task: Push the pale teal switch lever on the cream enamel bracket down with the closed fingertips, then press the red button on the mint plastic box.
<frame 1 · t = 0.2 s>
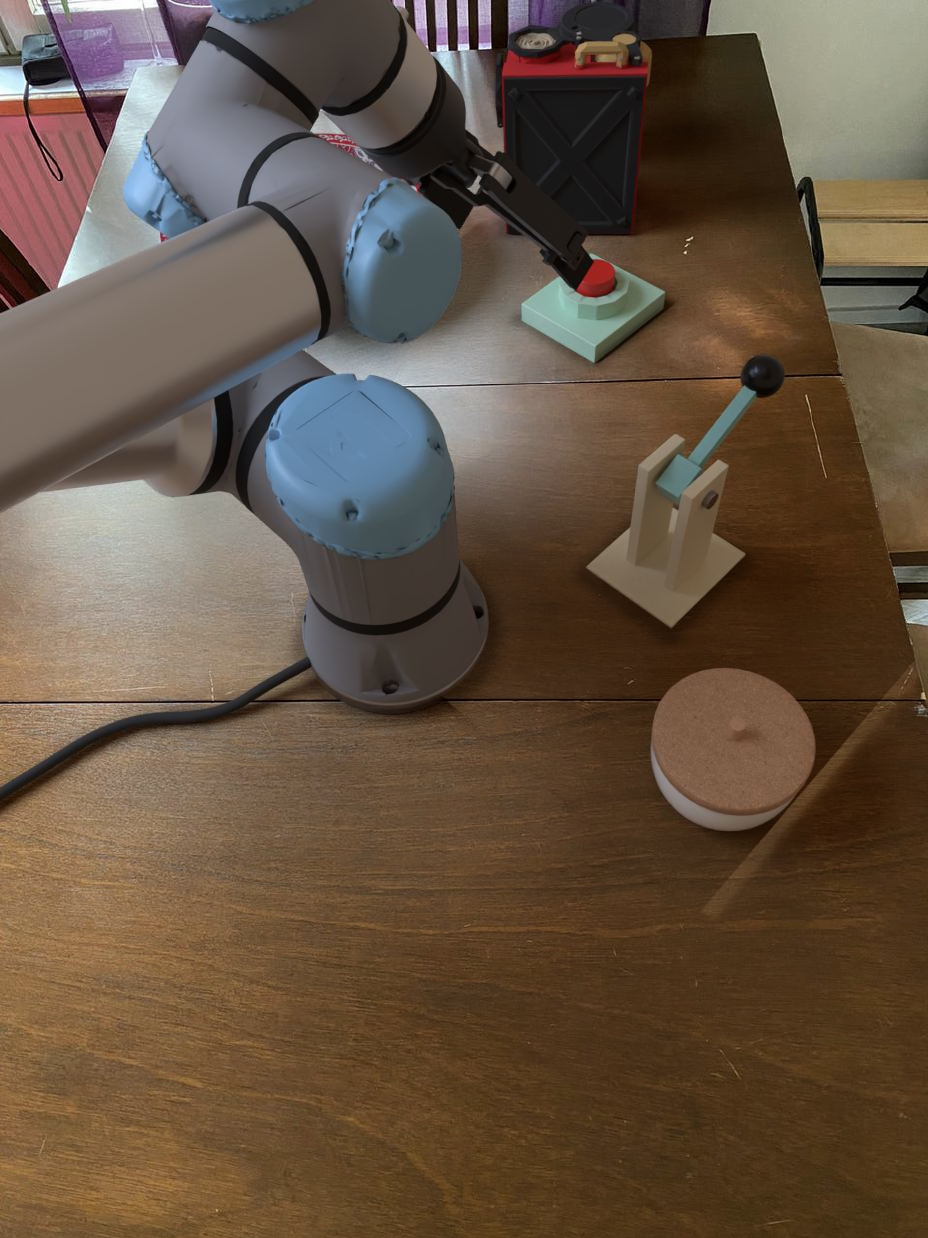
hand: (521, 243, 83), 15 cm above the table, tool tilted 35°, fingers open, 13 cm apart
bracket: (664, 568, 82), on the table
switch: (722, 427, 73), point 13 cm above the table, hinge at 25.0°
button box: (592, 314, 101), on the table
trinket box: (715, 784, 71), on the table
black and red jerrycan: (567, 212, 111), on the table
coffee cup: (590, 152, 118), on the table
ceramic bowl: (311, 275, 108), on the table
button: (594, 278, 97), point 4 cm above the table, slide at 0.1 cm
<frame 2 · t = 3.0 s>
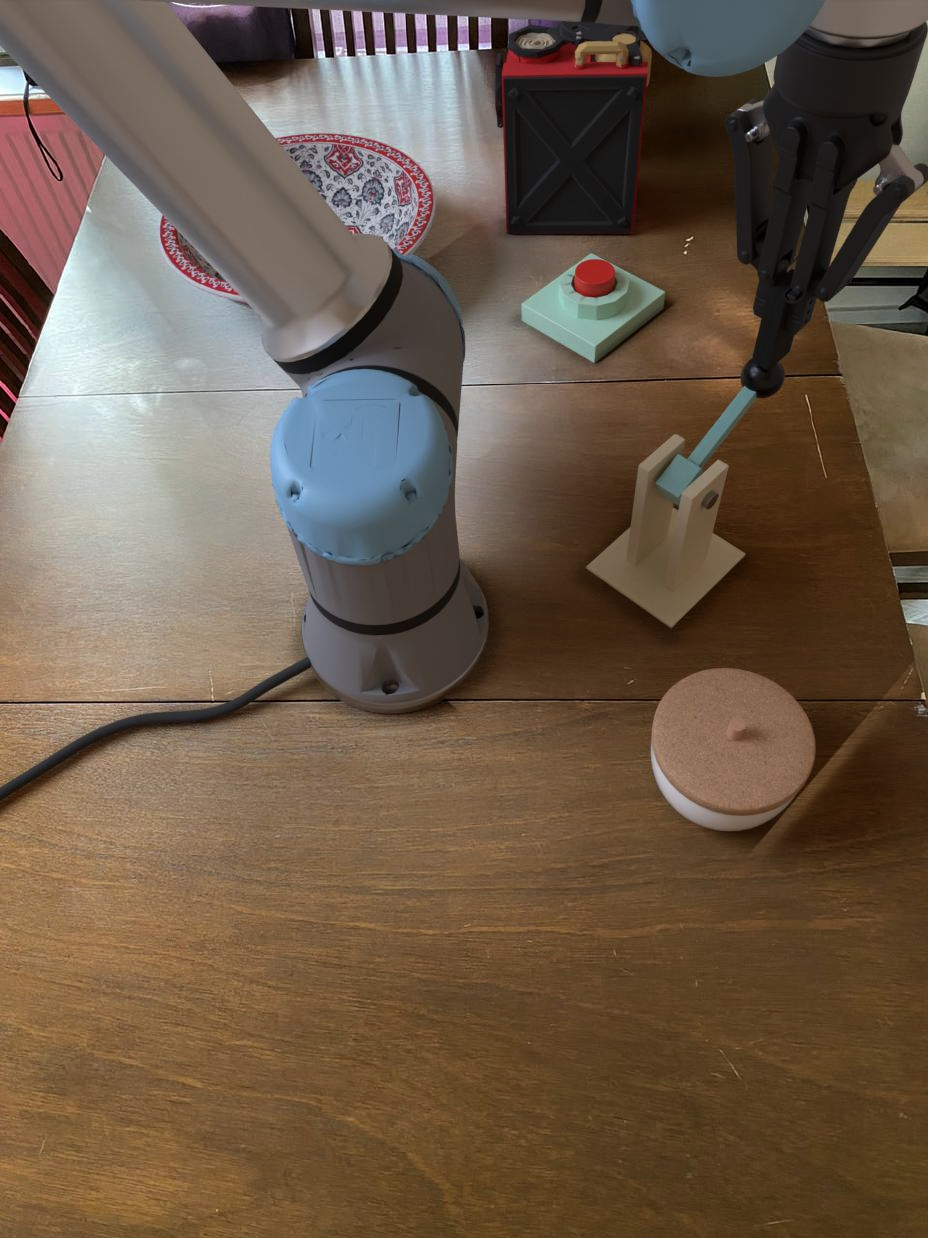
hand: (770, 356, 72), 17 cm above the table, tool pointing down, fingers closed
switch: (722, 428, 73), point 13 cm above the table, hinge at 24.6°, touching gripper
everything else where it was.
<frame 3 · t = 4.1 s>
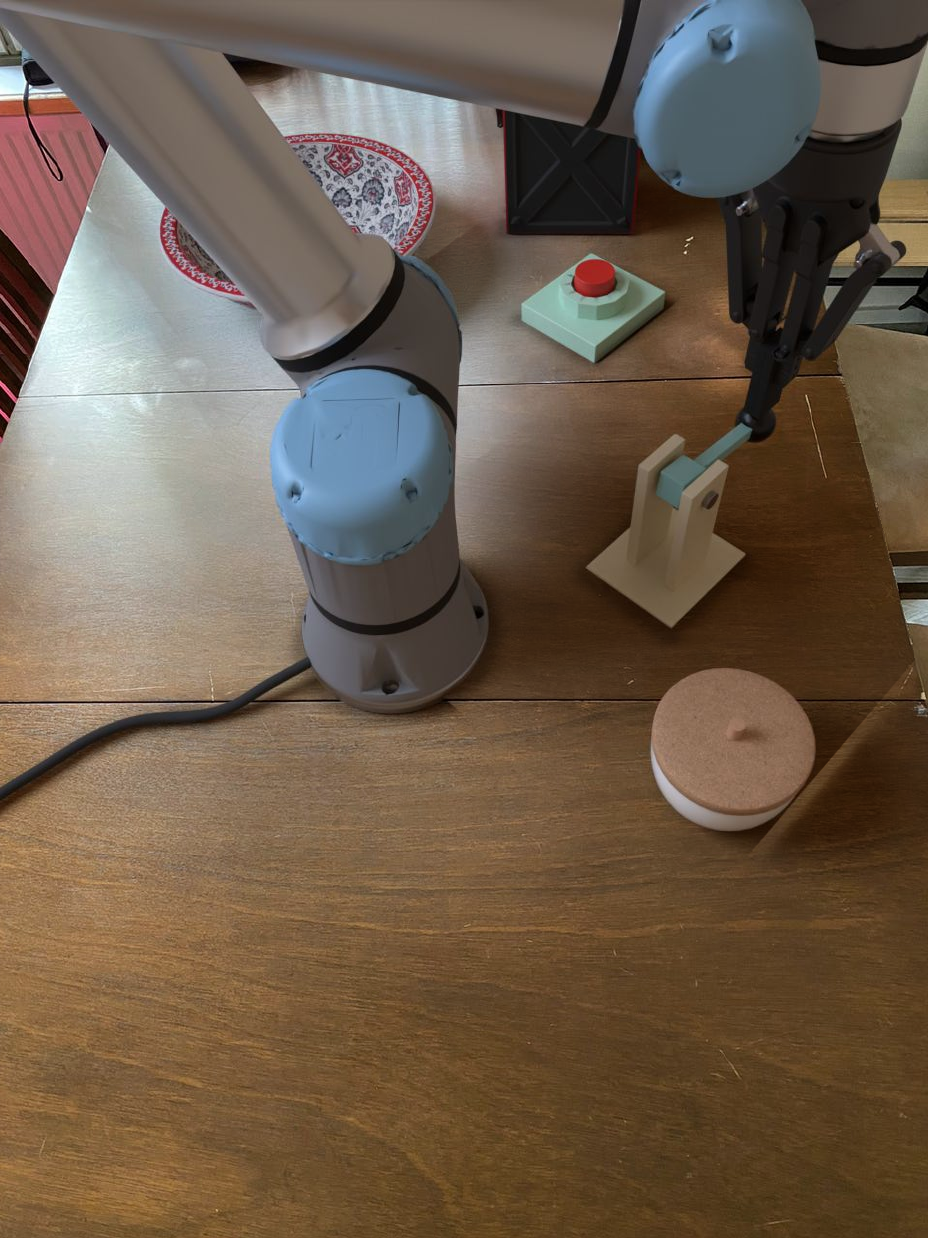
hand: (761, 405, 76), 12 cm above the table, tool pointing down, fingers closed
switch: (719, 450, 76), point 10 cm above the table, hinge at -7.2°
everything else where it was.
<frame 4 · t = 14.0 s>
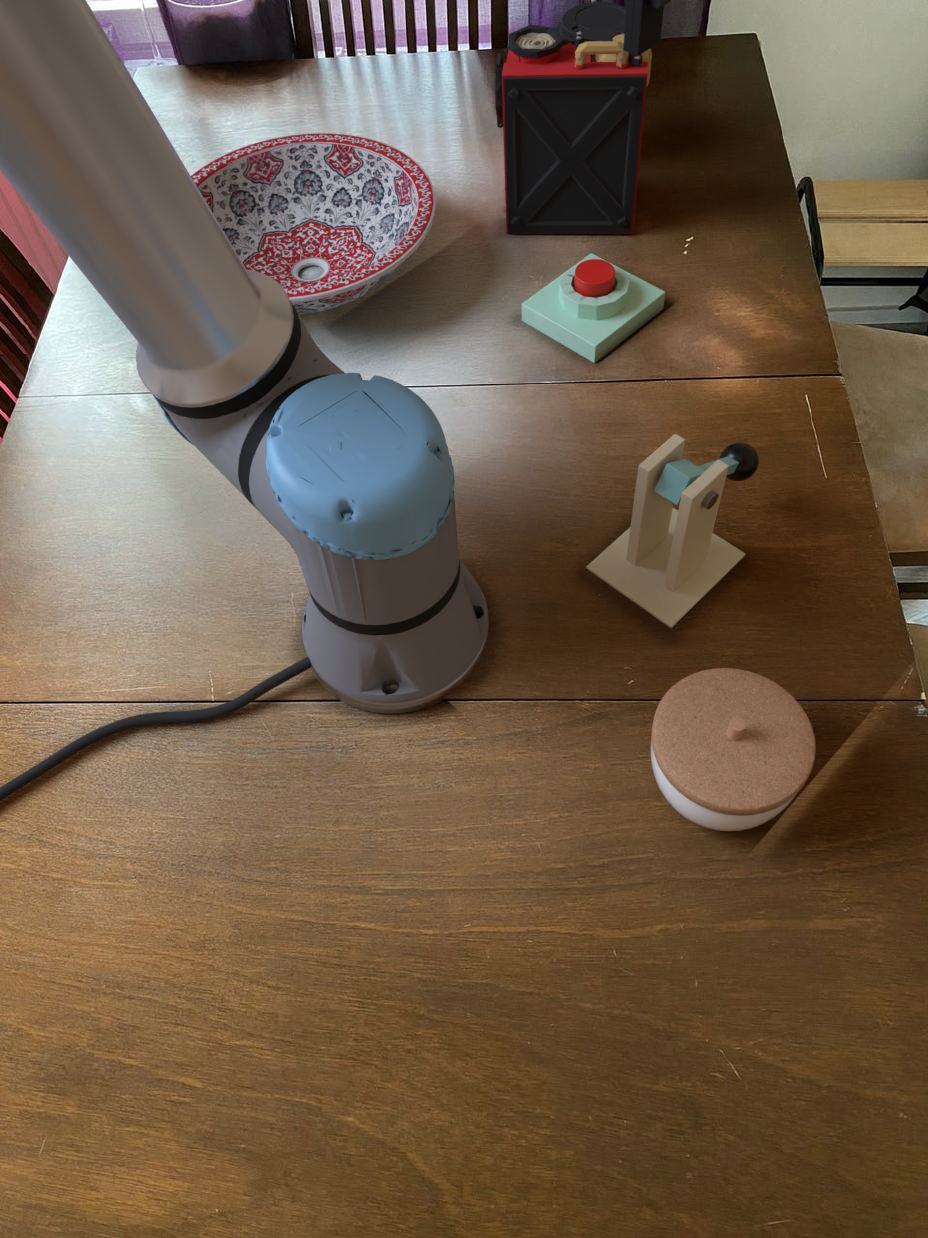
hand: (641, 45, 75), 28 cm above the table, tool pointing down, fingers closed
switch: (711, 470, 77), point 9 cm above the table, hinge at -29.0°
everything else where it was.
at the end: switch at -29° (first picture: +25°); button pushed in 1.0 cm at the most during the clip, back to where it started at the end; button slide at 0.1 cm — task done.
